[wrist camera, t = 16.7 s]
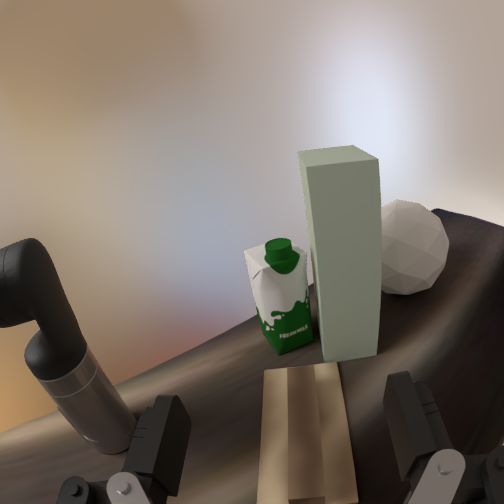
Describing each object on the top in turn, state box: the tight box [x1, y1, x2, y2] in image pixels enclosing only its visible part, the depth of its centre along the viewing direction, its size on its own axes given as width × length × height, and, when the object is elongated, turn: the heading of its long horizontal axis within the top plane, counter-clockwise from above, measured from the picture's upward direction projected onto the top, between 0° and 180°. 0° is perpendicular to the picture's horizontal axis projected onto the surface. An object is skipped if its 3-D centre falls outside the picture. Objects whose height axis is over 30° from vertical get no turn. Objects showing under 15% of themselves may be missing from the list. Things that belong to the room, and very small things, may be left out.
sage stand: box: [298, 145, 382, 363], centre depth 48 cm, size 9×13×32 cm
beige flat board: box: [257, 362, 358, 504], centre depth 38 cm, size 12×25×1 cm, turn 177°
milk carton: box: [244, 238, 313, 355], centre depth 53 cm, size 9×9×20 cm
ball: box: [381, 200, 449, 295], centre depth 60 cm, size 19×20×20 cm
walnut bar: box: [287, 365, 325, 504], centre depth 36 cm, size 4×21×4 cm, turn 176°
